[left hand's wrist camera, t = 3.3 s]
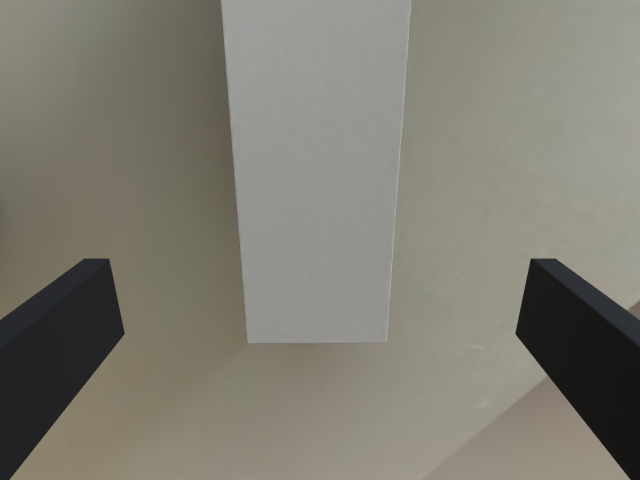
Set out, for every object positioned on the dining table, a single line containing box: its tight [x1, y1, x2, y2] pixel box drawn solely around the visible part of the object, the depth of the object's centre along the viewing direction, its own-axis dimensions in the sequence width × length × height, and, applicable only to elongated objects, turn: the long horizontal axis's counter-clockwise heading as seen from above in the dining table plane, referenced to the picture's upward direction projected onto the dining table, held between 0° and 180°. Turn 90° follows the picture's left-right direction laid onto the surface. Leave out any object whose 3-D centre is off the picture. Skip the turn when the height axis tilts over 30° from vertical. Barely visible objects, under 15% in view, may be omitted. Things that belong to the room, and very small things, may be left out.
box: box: [221, 0, 411, 344], centre depth 19 cm, size 25×6×12 cm, turn 0°
